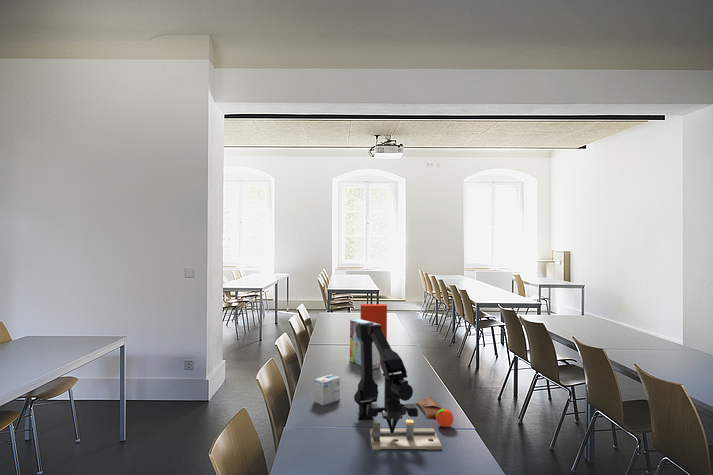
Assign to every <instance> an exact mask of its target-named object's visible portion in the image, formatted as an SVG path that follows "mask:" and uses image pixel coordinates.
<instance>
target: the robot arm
mask: <svg viewBox="0 0 713 475" xmlns="http://www.w3.org/2000/svg"><path fill="white" fill-rule="evenodd" d="M355 331H356V335H357V338H358V340H359V342H360V343H361V366H360V368H361V373H360V374H361V379H360V380H359V382H358V384H357V391H356V392H355V394H354V395H353V399H354V402H355V403H356V404H357V405H358V411H357V419H358V420H374V419H375V418H377V416H379V413H380V414H381V415H382V416H381V417H382V419H384V420H386V422H387V425H388V428H389V429H390V432H391V433H393V432H394V429H395V428H396V426H397V424H398V422H399V420H402V419H403V416H404V415H408V417H410V418H411V417H412V418H417V417H419V409H418V406H417V405H416V404H415V403H401V401H403V402H405V401H409V400H410V399H411V398H412V396H413V394H414V389H413V387H412V386H411V385H410V384H409V380H407V379H408V374H407V373H408V371H407V369H406V366H405V364H404V361H403V360H402V358H401V356H400V355H399V353H398V352H396V351H395V350H393V349H392V348H391V346H390V344H389V341H388V338H387V339H386V338H385V336H384V334H383V332H382V328H381V325H379V324H373V322H367V323H358V325H357V326H356V328H355ZM373 341H374V343H375V345H376V348H377V350H378V352H379V354H380V368H381V370H382V376H383V377H384V390H383V392H384V397H383V398H384V399H383V400H384V401H383V402H384V405H383V406H378V403H377V402H378V399H379V398H378V397H379V385H378V384H377V382H376V381H375V379H374V369H373V362H372V343H373ZM406 378H407V379H406Z"/></svg>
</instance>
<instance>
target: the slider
mask: <svg viewBox="0 0 713 475" xmlns="http://www.w3.org/2000/svg"><path fill="white" fill-rule="evenodd" d="M414 425H415V422H414V420H413V419H405V428H406V437H407V438H409V439H410V440H412V438H413V436H414Z"/></svg>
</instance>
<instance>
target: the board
mask: <svg viewBox="0 0 713 475" xmlns="http://www.w3.org/2000/svg"><path fill="white" fill-rule="evenodd" d="M369 435H370V436H369V437H370V444H371V450H372V451H382V450H381V449H427V450H442V449H443V446H442V444H441V442H440V440H439V438H438V435H437V433H436V431H435V428H434V427H427V428H426V427H420V428H418V427H415V428H414V436H413V438H412V440H410V439H409V438H407V437H406V427H405V428H403V427H402V428H401V427H400V428H399V427H398V428H396V427H395V429H394V432H393V433H391V432H390V429H389V427H388V428H386V427H385V428H381V421H380V420H378V419H377V420H376V419H375V420H374V419H372V428H369ZM379 449H380V450H379Z"/></svg>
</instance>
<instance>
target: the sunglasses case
mask: <svg viewBox="0 0 713 475" xmlns="http://www.w3.org/2000/svg"><path fill="white" fill-rule="evenodd" d="M414 404H415V405H416V406H417V408H419V409H420V411H423V412H422V414H424V415H426V416H425V417H427V418H426V419H427V420H431V419H430V418H436V417H435V416H436V414H437V412H438V411H439V410H440V409H443V408H442V407H441V405H440V404H438V402H437V401H436V400H435V399H434V398H433V397H432V396H431V395H428V396H426V397H425V398H423V399H421V400H419V401H417V402H414Z"/></svg>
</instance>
